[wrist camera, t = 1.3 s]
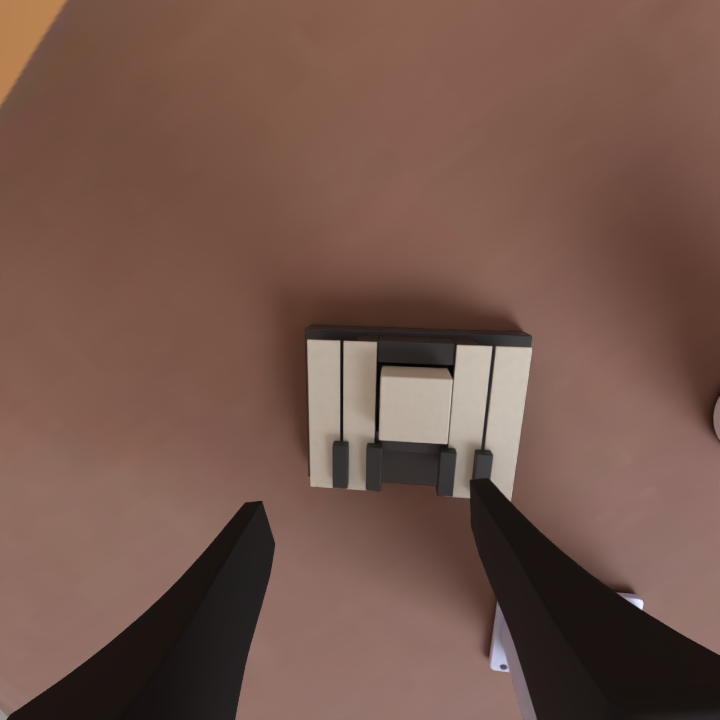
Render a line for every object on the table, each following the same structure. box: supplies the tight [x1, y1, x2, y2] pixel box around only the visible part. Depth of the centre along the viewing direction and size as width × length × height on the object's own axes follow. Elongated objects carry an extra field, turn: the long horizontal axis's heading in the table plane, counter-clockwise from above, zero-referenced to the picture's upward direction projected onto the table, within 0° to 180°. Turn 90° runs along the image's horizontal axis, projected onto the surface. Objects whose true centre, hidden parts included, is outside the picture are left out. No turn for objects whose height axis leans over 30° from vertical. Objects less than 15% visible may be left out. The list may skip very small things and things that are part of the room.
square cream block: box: [379, 366, 453, 444], centre depth 19 cm, size 4×4×2 cm
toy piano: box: [305, 325, 532, 486], centre depth 22 cm, size 10×13×3 cm
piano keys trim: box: [307, 339, 532, 501], centre depth 20 cm, size 9×12×1 cm
